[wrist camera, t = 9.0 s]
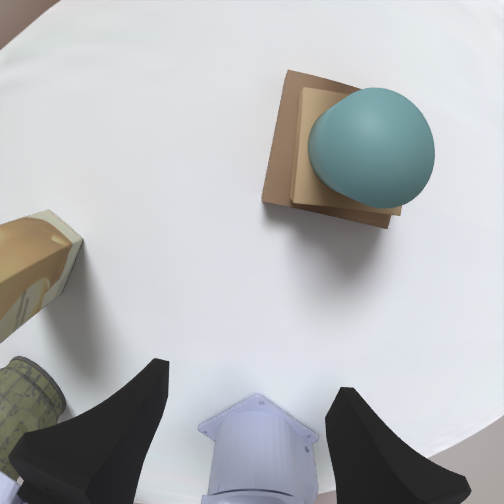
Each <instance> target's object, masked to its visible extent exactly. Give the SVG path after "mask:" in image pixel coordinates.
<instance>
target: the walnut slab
mask: <svg viewBox="0 0 504 504" xmlns="http://www.w3.org/2000/svg"><path fill="white" fill-rule="evenodd" d="M303 87H307V88H314V89H320V90H327V91H333V92H338V93H344V94H349V95H350V94H352V93H354V92H356V91H359V90H362V89H359V88H356V87H353V86H349V85H346V84H343V83H339V82H336V81H332V80H329V79H325V78H321V77H317V76H313V75H309V74H305V73H301V72H296V71H292V70H288V71H287V74H286V77H285V81H284V86H283V91H282V96H281V101H280V106H279V111H278V116H277V122H276V127H275V132H274V137H273V142H272V147H271V152H270V157H269V162H268V167H267V172H266V177H265V182H264V188H263V193H262V202H267V203H273V204H278V205H283V206H288V207H292V208H297V209H302V210H307V211H311V212H316V213H321V214H325V215H330V216H334V217H339V218H343V219H347V220H352V221H356V222H360V223H364V224H369V225H373V226H377V227H381V228H385V229H388V225H389V221H390V217H391V215H390V214H383V213H376V212H368V211H361V210H353V209H345V208H336V207H328V206H319V205H309V204H300V203H293V201H292V200H291V199H290V189H291V178H292V167H293V156H294V145H295V133H296V120H297V107H298V96H299V94H300V92H301V91H302V89H303Z"/></svg>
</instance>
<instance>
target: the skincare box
mask: <svg viewBox="0 0 504 504" xmlns="http://www.w3.org/2000/svg"><path fill="white" fill-rule="evenodd" d="M82 241H83V238H82V237H81V236H79V235H78V234H77V233H76V232H75V231H74V230H73V229H71V228H70V227H69V226H68V225H67V224H66V223H65V222H63V221H62V220H61V219H60V218H59V217H57V216H56V215H55V214H54V213H53V212H51V211H50V210H45V211H42V212H39V213H35V214H32V215H29V216H26V217H22V218H19V219H16V220H13V221H10V222H7V223H4V224H1V225H0V343H2V342H3V341H4V340H5V339H6V338H7V337H9V336H10V335H11V334H12V333H13V332H14V331H16V330H17V329H18V328H19V327H20V326H22V325H23V324H24V323H25V322H27V321H28V320H29V319H30V318H31V317H33V316H34V315H35V314H36V313H38V312H39V311H40V310H41V309H43V308H44V307H45V306H47V305H48V304H49V303H51V302H52V301H53V300H54V299H56V298H57V297H58V296H60V295H61V293H62V291H63V288H64V286H65V283H66V281H67V279H68V276H69V274H70V271H71V269H72V266H73V264H74V261H75V259H76V256H77V253H78V251H79V248H80V246H81V243H82Z"/></svg>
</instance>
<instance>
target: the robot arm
mask: <svg viewBox="0 0 504 504" xmlns="http://www.w3.org/2000/svg"><path fill="white" fill-rule="evenodd" d="M168 385H169V361H165V360H161V359H157V358H154V359H153V360H152V361H151V362H150V363H149V364H148V365H147V366H146V367H145V368H144V369H143V370H142V371H141V372H140V373H138V374H137V375H136V376H135V377H134V378H133V379H132V380H131V381H129V382H128V383H127V384H126V385H125V386H124V387H122V388H121V389H120V390H119V391H117V392H116V393H115V394H113V395H112V396H111V397H109V398H108V399H106V400H105V401H103V402H102V403H100V404H99V405H97V406H95V407H94V408H92V409H90V410H88V411H86V412H84V413H82V414H80V415H79V416H76V417H74V418H72V419H70V420H67V421H64V422H62V423H59V424H56V425H54V426H51V427H47V428H43V429H39V430H35V431H31V432H26V433H24V434H23V435H22V437H21V438H20V439H19V440H18V442H17V443H16V445H15V446H14V448H13V449H12V451H11V452H10V454H9V455H8V458H9V462H10V463H11V465H12V466H13V468H14V469H15V470H16V472H17V473H18V474H19V475H20V477H21V478H22V479H23V480H24V482H23V484H22V485H21V486H20V485H19V484H18V483H17V482H16V481H14V480H13V479H11V478H10V477H8V476H7V475H5V474H4V473H3V472H1V471H0V504H133V502H134V497H135V493H136V489H137V485H138V481H139V477H140V473H141V470H142V466H143V462H144V460H145V457H146V454H147V452H148V449H149V447H150V444H151V442H152V440H153V437H154V435H155V432H156V430H157V428H158V425H159V423H160V420H161V418H162V416H163V412H164V409H165V405H166V402H167V398H168ZM325 424H326V438H327V443H328V448H329V452H330V457H331V462H332V466H333V471H334V476H335V482H336V494H337V504H460V503H461V502H463V501H464V500H465V499H466V498H467V497H468V496H469V495H470V493H471V488H470V486H469V484H468V482H467V480H466V478H465V476H462V475H459V474H457V473H454V472H452V471H449V470H447V469H445V468H442V467H441V466H439V465H437V464H435V463H433V462H431V461H430V460H428V459H427V458H425V457H424V456H422V455H421V454H419V453H418V452H416V451H415V450H414V449H412V448H411V447H410V446H408V445H407V444H406V443H405V442H404V441H402V440H401V439H400V438H399V437H398V436H397V435H396V434H395V433H394V432H393V431H392V430H391V429H390V428H389V427H388V426H387V425H386V424H385V423H384V422H383V421H382V420H381V419H380V418H379V417H378V416H377V414H376V413H375V412H374V411H373V410H372V409H371V407H370V406H369V405H368V404H367V403H366V402H365V400H364V399H363V398H362V397H361V396H360V394H359V393H358V392H357V391H356V390H355V389H354V388H349V387H341V388H340V390H339V392H338V394H337V396H336V398H335V400H334V402H333V404H332V406H331V407H330V409H329V411H328V413H327V415H326V417H325ZM198 431H199V432H201V433H203V434H204V435H206V436H207V437H209V438H210V439H212V440H214V441H215V445H214V452H213V459H212V466H211V473H210V480H209V487H208V494H207V495H202V499H201V504H313V503H314V502H315V499H316V497H317V494H318V480H317V473H316V466H315V459H314V452H313V446H312V444H313V443H315V442H317V441H318V440H319V436H318V435H317V434H316V433H314V432H313V431H311V430H310V429H308V428H307V427H305V426H304V425H302V424H301V423H299V422H298V421H297V420H295V419H294V418H292V417H291V416H289V415H288V414H287V413H285V412H284V411H283V410H281V409H280V408H278V407H277V406H276V405H274V404H273V403H272V402H270V401H269V400H268V399H266V398H265V397H264V396H262V395H260V394H255V395H253V396H251V397H249V398H248V399H246V400H244V401H242V402H241V403H239V404H237V405H235V406H234V407H232V408H230V409H228V410H226V411H225V412H223V413H221V414H219V415H217V416H215V417H214V418H212V419H210V420H208V421H206V422H204V423H202V424H200V425H199V426H198Z"/></svg>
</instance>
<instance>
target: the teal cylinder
mask: <svg viewBox="0 0 504 504" xmlns="http://www.w3.org/2000/svg"><path fill="white" fill-rule="evenodd" d="M308 155H309V160H310V163H311V165H312V168H313V170H314V172H315V173H316V175H317V176H318V177H319V179H320V180H321V181H322V182H323V183H324V184H325V185H326V186H328V187H329V188H331V189H332V190H334V191H336V192H338V193H341V194H343V195H345V196H347V197H350V198H352V199H354V200H356V201H358V202H361V203H363V204H365V205H368V206H371V207H375V208H383V209H388V208H395V207H399V206H402V205H404V204H406V203H408V202H410V201H411V200H413V199H414V198H415V197H416V196H418V195H419V193H420V192H421V191H422V190H423V189H424V187H425V186H426V184H427V182H428V180H429V179H430V176H431V173H432V170H433V166H434V159H435V148H434V141H433V136H432V133H431V130H430V127H429V125H428V123H427V121H426V119H425V118H424V116H423V114H422V113H421V112H420V110H419V109H418V108H417V107H416V106H415V105H414V104H413V103H412V102H411V101H410V100H408V99H407V98H406V97H404V96H402V95H401V94H399V93H396V92H394V91H391V90H388V89H383V88H366V89H362V90H359V91H356V92H354V93H352V94H350V95H349V96H347V97H346V98H344V99H343V100H341V101H340V102H338V103H337V104H335V105H334V106H332V107H331V108H329V109H328V110H326V111H325V112H324V113H322V114H321V115H320V116H319V117H318V118H317V120H316V121H315V123H314V124H313V126H312V128H311V131H310V134H309V138H308Z"/></svg>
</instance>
